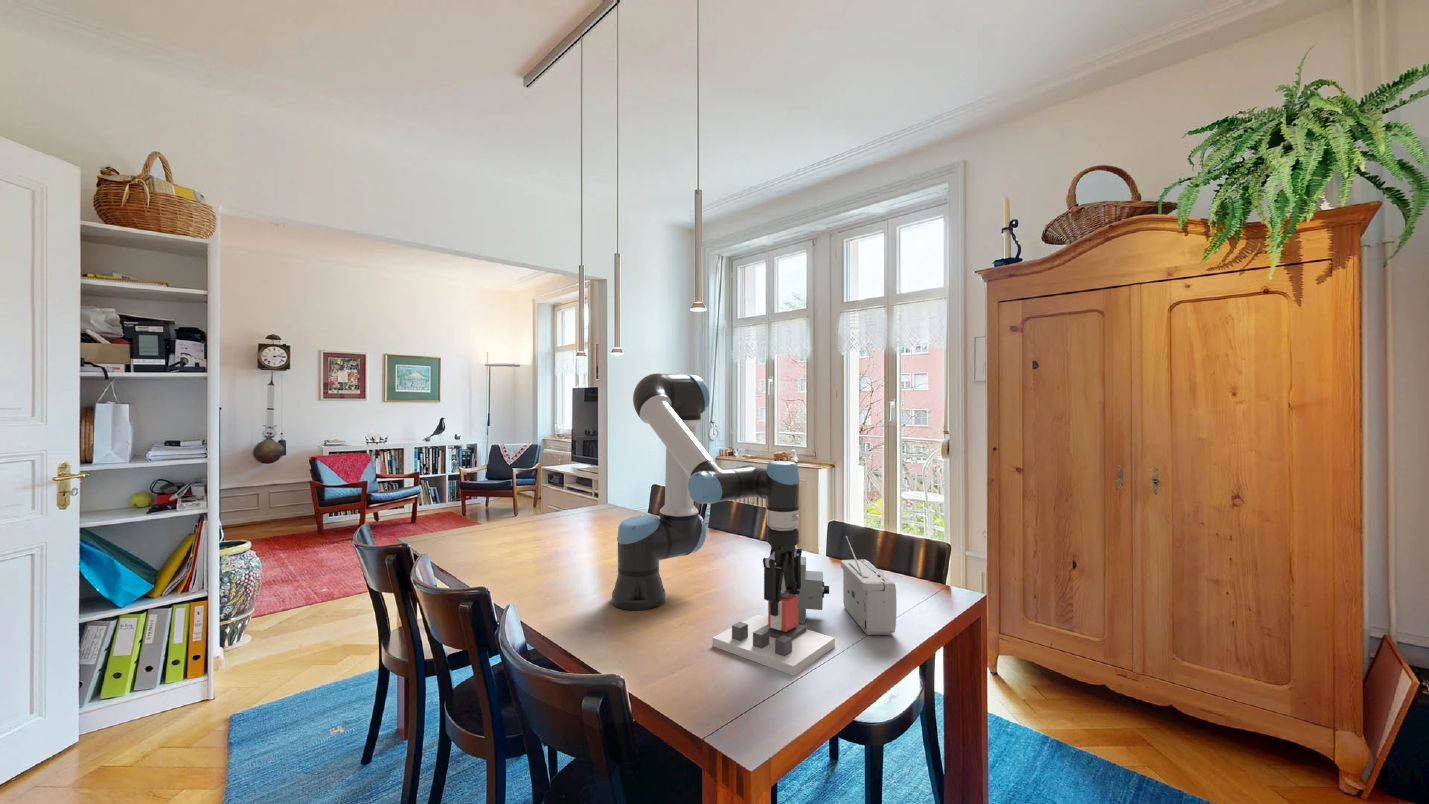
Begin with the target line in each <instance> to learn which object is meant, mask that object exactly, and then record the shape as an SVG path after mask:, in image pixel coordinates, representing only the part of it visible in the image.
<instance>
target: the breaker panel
mask: <svg viewBox="0 0 1429 804" xmlns="http://www.w3.org/2000/svg"><path fill="white" fill-rule="evenodd" d="M711 644H712V647H714V648H717V649H720V650H723V651H725V652H727V653H730V654H732V655H733V654H734V655H736V656H738V657H741V658H743V659H746V660H748V661H749V660H750V661H752V662H754V663H758V664H760V665H764V666H766V667H767V668H768V667H769V668H771V669H774V670H776V671H780V672H782V673H785V674H787V675H790V676H795V675H797V674H798V673H799V672H801V671H803V670H804V669H805V668H807V667H808V666H809V665H811V664H812V663H813V662H815V661H816V660H818V659H819V658H820V657H822V656H824V655H825V654H827V653H828V652H829V651H831V650H832V649H833V648H835V647H836V638H835V637H834V636H830V635H826V634H823V633H820V632H818V631H817V632H816V631H814V630H810V629H807V626H804V625H800V624H798V625H797V626H796V627H794V628H792V629H791V630H789V631H787V632H784V631H781V630H777V629H774V628H771V627H768V616H763V615H760V614H756V615H754V616H752V617H749V618H748V619H746V620H744V621H737V622H735V623H734V624H732V625H731V627H730V628H728V629H726V630H724V631H722V632H720V633H719V634H716V635H715V636H713V637H712V643H711Z"/></svg>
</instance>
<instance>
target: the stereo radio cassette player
mask: <svg viewBox="0 0 1429 804" xmlns="http://www.w3.org/2000/svg"><path fill="white" fill-rule="evenodd" d="M845 539H847V543H848V546H849V548H850V551H851V554H852V557H853V559H842V560H840V568H841V569H842V571H843V573H842V574H843V575H842V576H843V579H842V580H843V581H842V582H843V587H842V588H843V589H842V591H843V592H842V595H843V597H842V600H843V607H844V608H845V610H846V611H847V612H848V613H849V615H850V616H851V617H852V618H853V620H854V621H855V622H856V624H858V626H859V627H860V628H861V630H862V631H863V632H864V633H865V634H866V635H867V636H871V635H874V636H880V635H881V636H882V635H887V636H889V635H890V636H891V635H892V634H893V633H894V634H895V633H896V626H897V587H896V584H895V582H894V581H893V580H891V579H890V578H889V577H887V575H885V574H884V573H883V572H881V571H880V569H878V568H877V567H876V566H875V565H874V564H872V563H871V562H870V561H869V560H866V559H857V557H856V555H855V552H854V550H853V548H852V546H851V543H850V541H849V539H848V536H847V535H845Z"/></svg>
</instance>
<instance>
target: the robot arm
mask: <svg viewBox="0 0 1429 804" xmlns="http://www.w3.org/2000/svg"><path fill="white" fill-rule="evenodd" d="M632 394H633V395H632V403H633V408H634V411H635V412H636V414H637V416H638V417H639V418H640V420H641V421H642V422H643V423H644V424H646V425H649V426H650V427H651V429H652V430H653V431H654V433H655V434H656V435H657V436H658V438H659V439H660V441H661V442H662V443H663V445H664V446H665V447H666V448H665V478H664V479H665V480H664V481H665V483H664V484H665V487H664V488H665V489H664V505H663V506H662V507H661V508H660V509H659V516H657V515H653V514H644V515H642V514H641V515H634V516H632V517H631V516H630V517H628V518H626V519H624V520H622V522H620V523H619V525H618V527H617V529H618V530H617V538H616V540H617V577H616V579H615V580H616V581H615V584H614V588H613V591H612V593H611V604H612V605H613V606H614V607H616V608H618V609H621V610H628V611H643V610H649V609H653V608H657V607H659V606H661V605H663V604H664V603H665V602H666V590H665V588H664V583H663V581H662V577H661V574H660V561H662V560H668V559H671V558H679V557H681V556H683V557H684V556H689V555H690V554H694V553H696V552H698V551H699V550H700V549H702V547H703V545H704V543H705V541H706V537H707V526H706V524H705V520H704V518H703V517H702V516H701V515H700V514H699V509H698V508H697V507H696V506H695V505H694V503H696V504H699V505H705V504H706V505H707V504H708V505H709V504H710V505H711V504H717V503H720V502H727V501H733V500H741V499H748V498H757V499H763V500H766V525H767V526H768V527H767V528H766V542H767V543H768V544H769V545H770V552H769V556H768V557H764V558H763V559H762V564H763V600H764V601H767V602H768V601H770V614H771V628H774V629H777V630H782V602H781V601H780V595H781V587H782V580H783V574H784V581H785V587H786V591H788V592H789V594H791V595H795V594H797V595H799V593H800V591H798V590H797V589H800V588H801V557H802V554H803V553H802V552H803V550H802V548H800V547H796V546H797V545H799V543H800V529H799V528H798V526H800V525H799V522H800V521H799V519H800V515H799V509H800V506H799V500H800V499H799V493H800V475H799V466H798V464H797V463H796V462H795V461H786V460H774V461H769V462H768V463H767V464H766V467H763V466H762V467H760V466H755V465H752V464H748V465H747V464H746V465H743V464H739V465H738V466H736V467H735V468H725V469H722V468H721V467H720V465H718V463H717V462H716V461H715V459H714V458H713V457H712V456H711V454H710V453H709V452H708V450H707V449H705V447H704V446H703V444H702V443H701V442H700V440H699V439H698V438H697V437H696V425H698V423H700V421H701V419H702V418H701V417H702V414H703V413H704V412H706V410H707V409H708V407H709V405H710V401H711V400H710V391H709V388H708V386H707V384H706V382H705V381H704V379H703V378H702V377H700V376H699V375H694V374H688V373H650V374H648V375H646V376H645V377H643V378H641V380H639V382H638V383H637V384H636V387H635V388H634V390H633V393H632ZM776 567H779V568H776ZM796 582H797V584H796Z"/></svg>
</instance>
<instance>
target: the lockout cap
mask: <svg viewBox="0 0 1429 804" xmlns="http://www.w3.org/2000/svg"><path fill="white" fill-rule="evenodd" d="M780 601H781V602H782V630H781V631H784V632H787V631H789V630H791V629H792V628H794V627H796V626H797V625H799V623H798V599H797V596H795V595H791V594H789V592H788V591H785V590H781V595H780ZM767 615H768V616H767V618H768V627H771V614H770V601H767Z"/></svg>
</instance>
